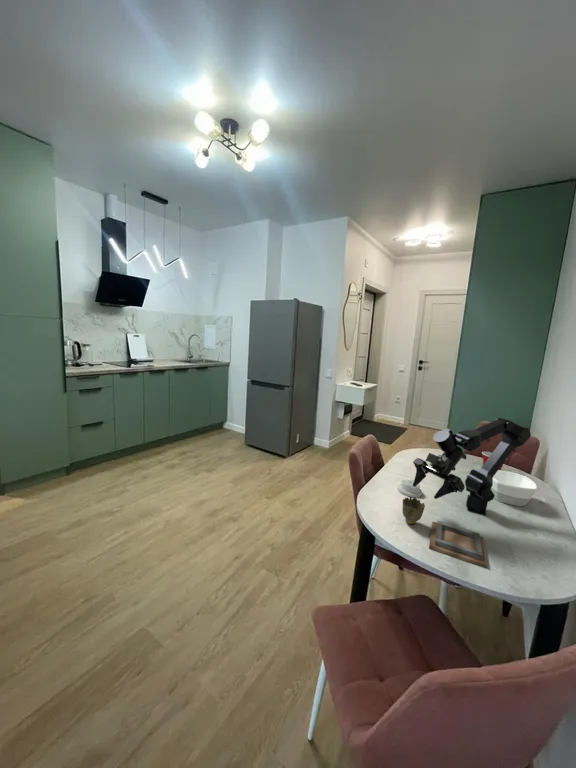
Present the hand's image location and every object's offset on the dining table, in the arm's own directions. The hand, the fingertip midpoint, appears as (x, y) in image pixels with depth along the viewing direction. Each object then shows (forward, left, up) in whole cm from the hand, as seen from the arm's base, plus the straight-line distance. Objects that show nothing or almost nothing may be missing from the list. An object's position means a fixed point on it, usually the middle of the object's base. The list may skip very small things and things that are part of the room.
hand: (423, 491), depth 120 cm
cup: (+3, +4, -11) cm, 12 cm away
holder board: (-12, +8, -11) cm, 18 cm away
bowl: (-32, -42, -11) cm, 54 cm away
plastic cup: (-27, -64, -11) cm, 71 cm away
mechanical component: (+6, -22, -12) cm, 25 cm away
